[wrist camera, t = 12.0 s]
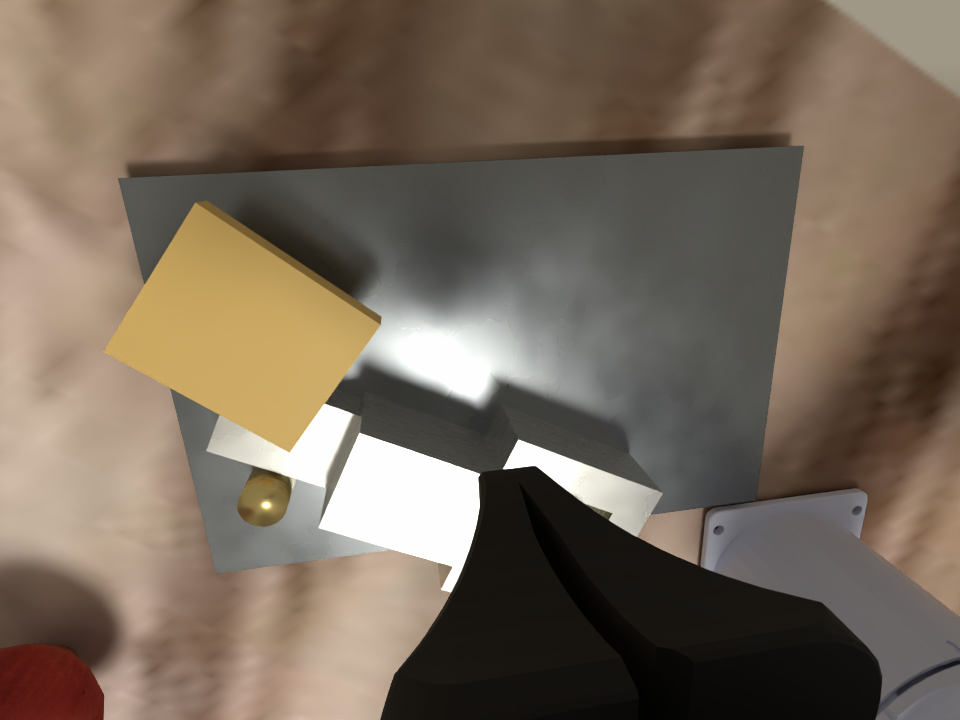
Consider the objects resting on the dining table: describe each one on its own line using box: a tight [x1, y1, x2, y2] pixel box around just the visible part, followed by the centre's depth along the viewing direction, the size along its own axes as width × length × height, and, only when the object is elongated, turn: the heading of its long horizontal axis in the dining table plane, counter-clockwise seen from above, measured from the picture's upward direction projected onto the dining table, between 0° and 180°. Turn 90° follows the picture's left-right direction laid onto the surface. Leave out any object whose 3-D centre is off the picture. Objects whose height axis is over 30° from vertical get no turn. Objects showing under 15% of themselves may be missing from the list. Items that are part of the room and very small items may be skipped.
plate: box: [118, 146, 804, 574], centre depth 21 cm, size 15×23×1 cm, turn 92°
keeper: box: [104, 201, 382, 453], centre depth 17 cm, size 6×5×3 cm
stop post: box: [237, 466, 296, 527], centre depth 20 cm, size 2×2×2 cm
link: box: [206, 389, 663, 592], centre depth 20 cm, size 15×6×4 cm, turn 65°
